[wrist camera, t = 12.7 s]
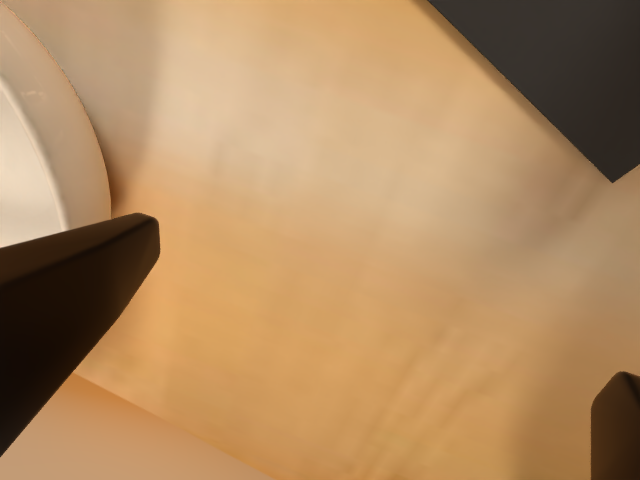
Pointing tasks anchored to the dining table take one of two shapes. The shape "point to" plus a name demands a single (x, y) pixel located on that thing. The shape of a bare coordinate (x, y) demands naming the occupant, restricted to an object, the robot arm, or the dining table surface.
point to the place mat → (567, 66)
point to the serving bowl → (44, 144)
